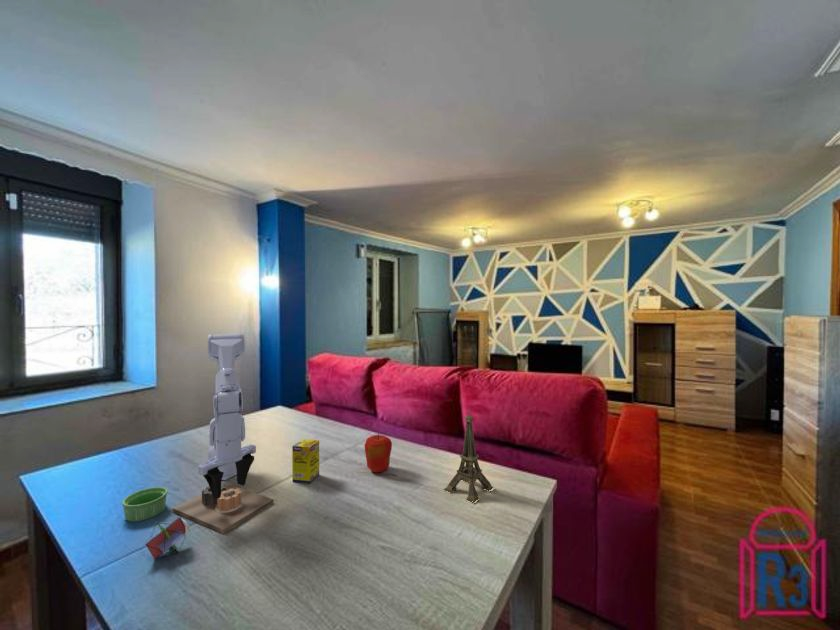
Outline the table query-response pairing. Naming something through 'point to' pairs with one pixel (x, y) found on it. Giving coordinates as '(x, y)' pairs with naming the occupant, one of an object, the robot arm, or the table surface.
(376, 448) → the apple
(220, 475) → the robot arm
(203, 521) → the gear board
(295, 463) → the supplement box
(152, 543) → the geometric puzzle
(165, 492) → the ramekin
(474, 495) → the eiffel tower
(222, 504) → the gear
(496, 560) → the table surface
